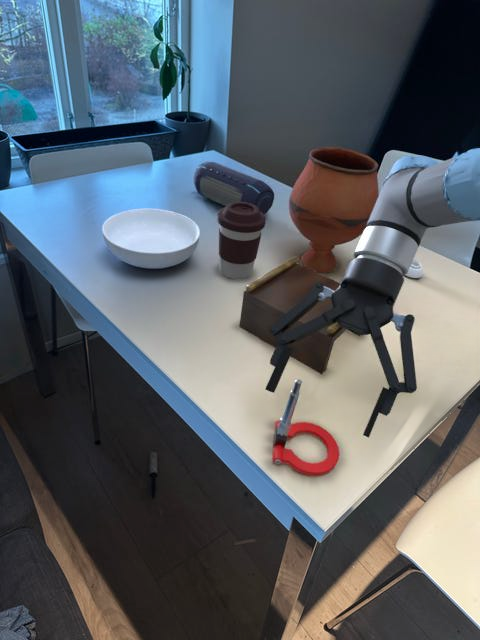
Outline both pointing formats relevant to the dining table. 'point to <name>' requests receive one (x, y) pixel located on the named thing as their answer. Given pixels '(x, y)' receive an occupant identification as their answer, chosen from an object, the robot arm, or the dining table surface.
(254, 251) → the coffee cup
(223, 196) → the portable speaker
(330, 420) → the dining table surface
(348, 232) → the goblet
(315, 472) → the tow hook
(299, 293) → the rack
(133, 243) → the serving bowl
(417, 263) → the white jar
